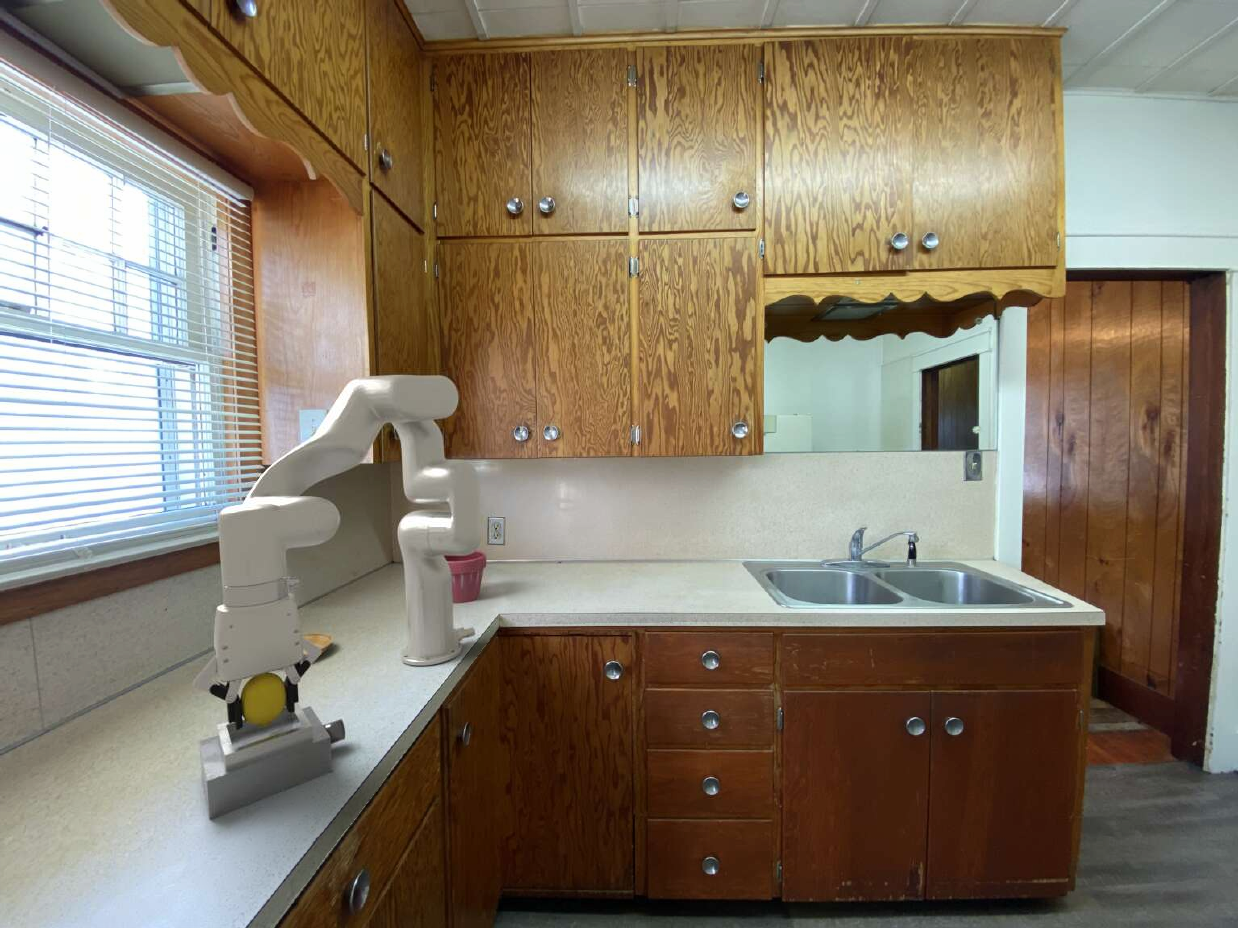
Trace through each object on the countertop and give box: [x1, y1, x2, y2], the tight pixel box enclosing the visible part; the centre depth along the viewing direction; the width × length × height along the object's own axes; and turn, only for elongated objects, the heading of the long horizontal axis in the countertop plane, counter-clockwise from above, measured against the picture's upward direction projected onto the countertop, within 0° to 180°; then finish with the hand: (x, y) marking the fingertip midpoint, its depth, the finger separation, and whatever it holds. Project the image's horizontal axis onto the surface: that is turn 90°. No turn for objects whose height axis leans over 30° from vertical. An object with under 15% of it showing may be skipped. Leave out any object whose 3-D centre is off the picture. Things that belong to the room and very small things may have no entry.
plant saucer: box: [294, 632, 334, 666], centre depth 118 cm, size 15×15×3 cm
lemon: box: [239, 672, 287, 727], centre depth 76 cm, size 6×6×8 cm
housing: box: [198, 702, 346, 820], centre depth 77 cm, size 17×12×7 cm
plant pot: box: [443, 550, 487, 604], centre depth 156 cm, size 14×14×13 cm
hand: (264, 715), depth 76 cm, fingers closed on lemon, 5 cm apart
